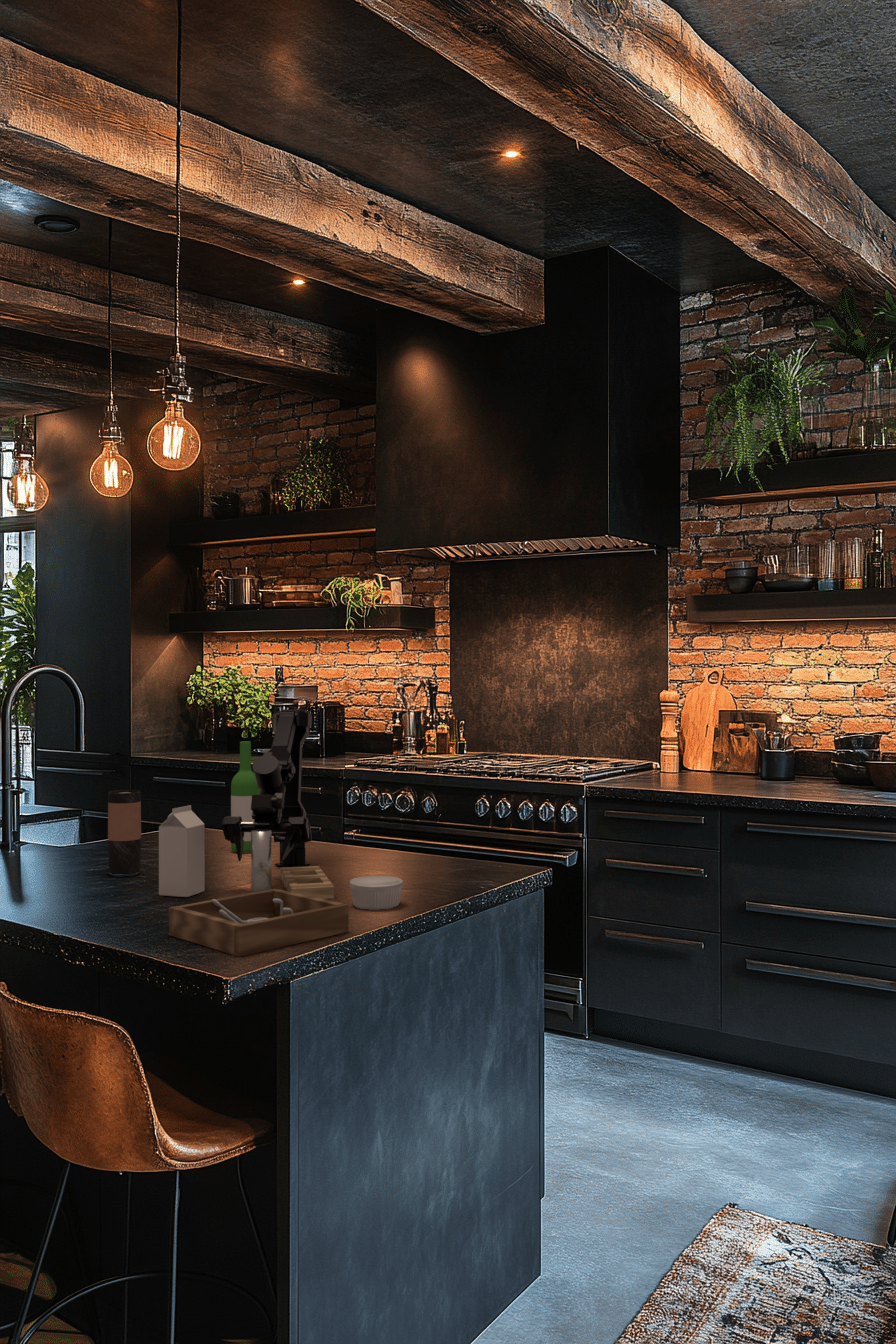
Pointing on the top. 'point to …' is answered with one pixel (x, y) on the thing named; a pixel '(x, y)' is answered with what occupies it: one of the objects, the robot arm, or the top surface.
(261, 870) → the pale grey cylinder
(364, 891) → the ramekin
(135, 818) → the travel mug
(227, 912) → the wall mount rack
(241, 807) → the wine bottle
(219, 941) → the tray
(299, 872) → the wooden slotted holder
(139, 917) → the top surface
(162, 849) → the milk carton
